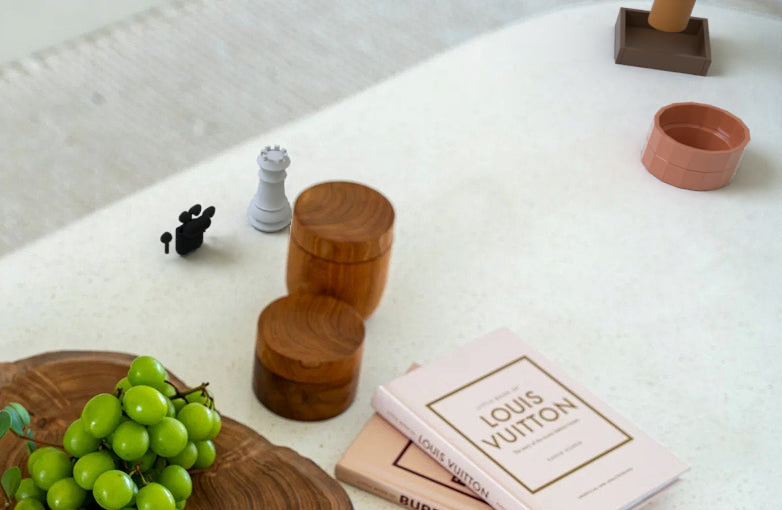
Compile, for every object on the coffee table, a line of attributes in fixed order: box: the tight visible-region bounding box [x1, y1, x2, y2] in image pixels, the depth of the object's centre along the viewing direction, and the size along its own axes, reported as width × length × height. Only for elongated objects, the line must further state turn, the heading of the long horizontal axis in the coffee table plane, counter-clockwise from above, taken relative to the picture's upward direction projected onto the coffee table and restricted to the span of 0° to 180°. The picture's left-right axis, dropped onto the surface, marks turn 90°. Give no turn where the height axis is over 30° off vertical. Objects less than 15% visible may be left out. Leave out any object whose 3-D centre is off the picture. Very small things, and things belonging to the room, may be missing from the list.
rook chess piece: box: [246, 144, 292, 233], centre depth 111 cm, size 4×4×8 cm
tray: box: [613, 6, 713, 77], centre depth 137 cm, size 10×10×2 cm
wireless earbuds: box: [159, 203, 216, 257], centre depth 109 cm, size 7×2×5 cm, turn 133°
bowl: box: [640, 101, 752, 192], centre depth 119 cm, size 9×9×5 cm
